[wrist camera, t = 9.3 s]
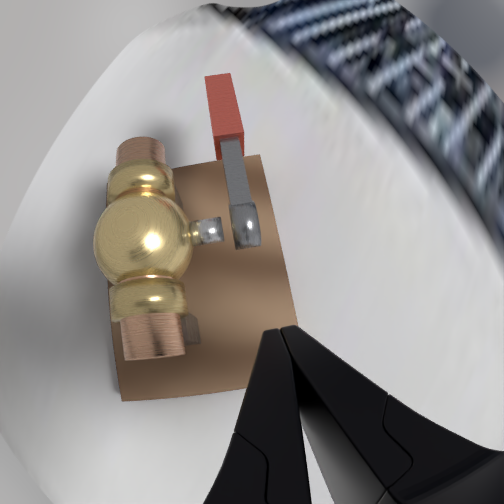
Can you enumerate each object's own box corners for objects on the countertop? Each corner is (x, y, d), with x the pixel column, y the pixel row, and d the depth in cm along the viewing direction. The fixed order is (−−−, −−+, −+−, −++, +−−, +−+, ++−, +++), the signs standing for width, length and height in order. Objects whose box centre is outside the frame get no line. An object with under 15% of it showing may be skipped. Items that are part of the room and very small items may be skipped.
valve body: (243, 348, 19) (241, 343, 11) (143, 361, 19) (81, 361, 11) (217, 189, 22) (204, 109, 15) (130, 205, 22) (84, 136, 14)
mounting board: (304, 374, 20) (308, 375, 19) (128, 399, 19) (121, 401, 18) (259, 163, 25) (259, 154, 23) (112, 190, 24) (107, 182, 23)
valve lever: (266, 234, 14) (230, 73, 18) (230, 241, 14) (204, 76, 17) (264, 251, 16) (231, 97, 20) (232, 257, 16) (207, 100, 20)
